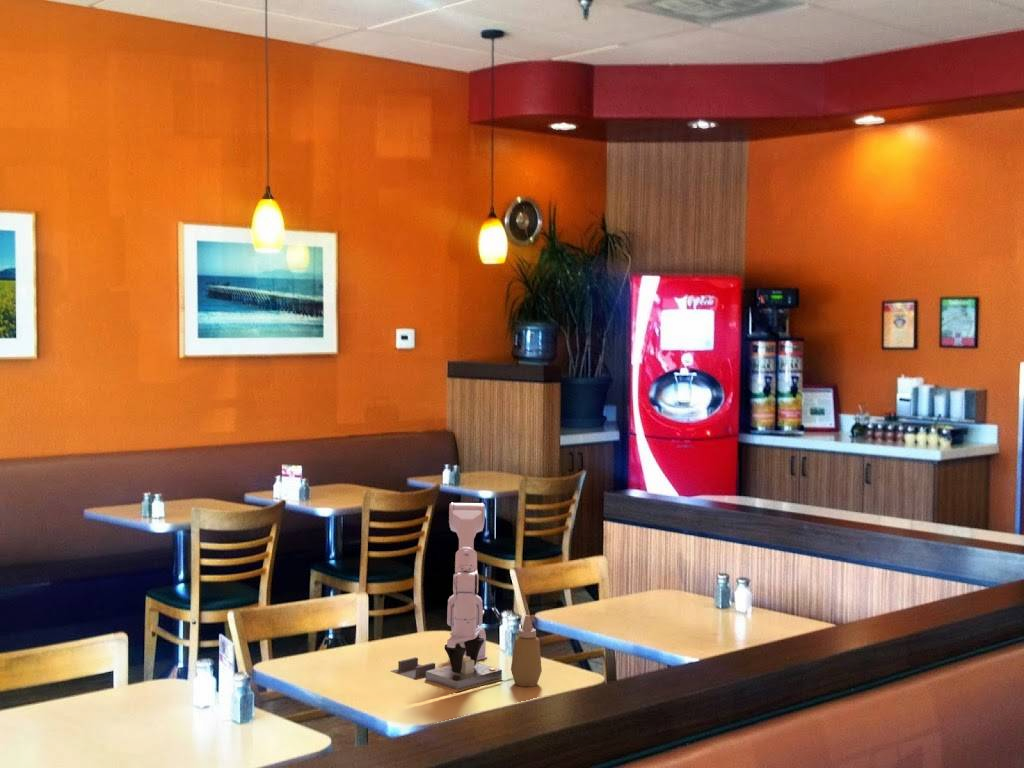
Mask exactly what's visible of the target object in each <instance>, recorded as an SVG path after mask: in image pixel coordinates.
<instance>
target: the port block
mask: <svg viewBox="0 0 1024 768" xmlns="http://www.w3.org/2000/svg"><path fill="white" fill-rule="evenodd" d="M502 677H503V670H502V669H500V668H497V667H493V666H492V665H487V664H484V663H480V662H477V661H476V665H475V666H474V673H471V674H467V675H466V674H463V673H454V672H453V671H452V667H451V664H450V665H446V666H441V667H438V668H437V667H436V668H435V669H433V670H429V671H426V677H425V681H428V682H432V683H433V684H438V685H440V686H443V687H446V688H450V689H452V690H456V691H455V692H454V693H456V694H460V693H462V692H463V693H464V692H466V691H470V690H475V689H478V688H481V687H485V686H488V685H492V684H496V683H499V682H502V681H503V680H502ZM488 682H489V683H488ZM477 685H478V686H477Z"/></svg>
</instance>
